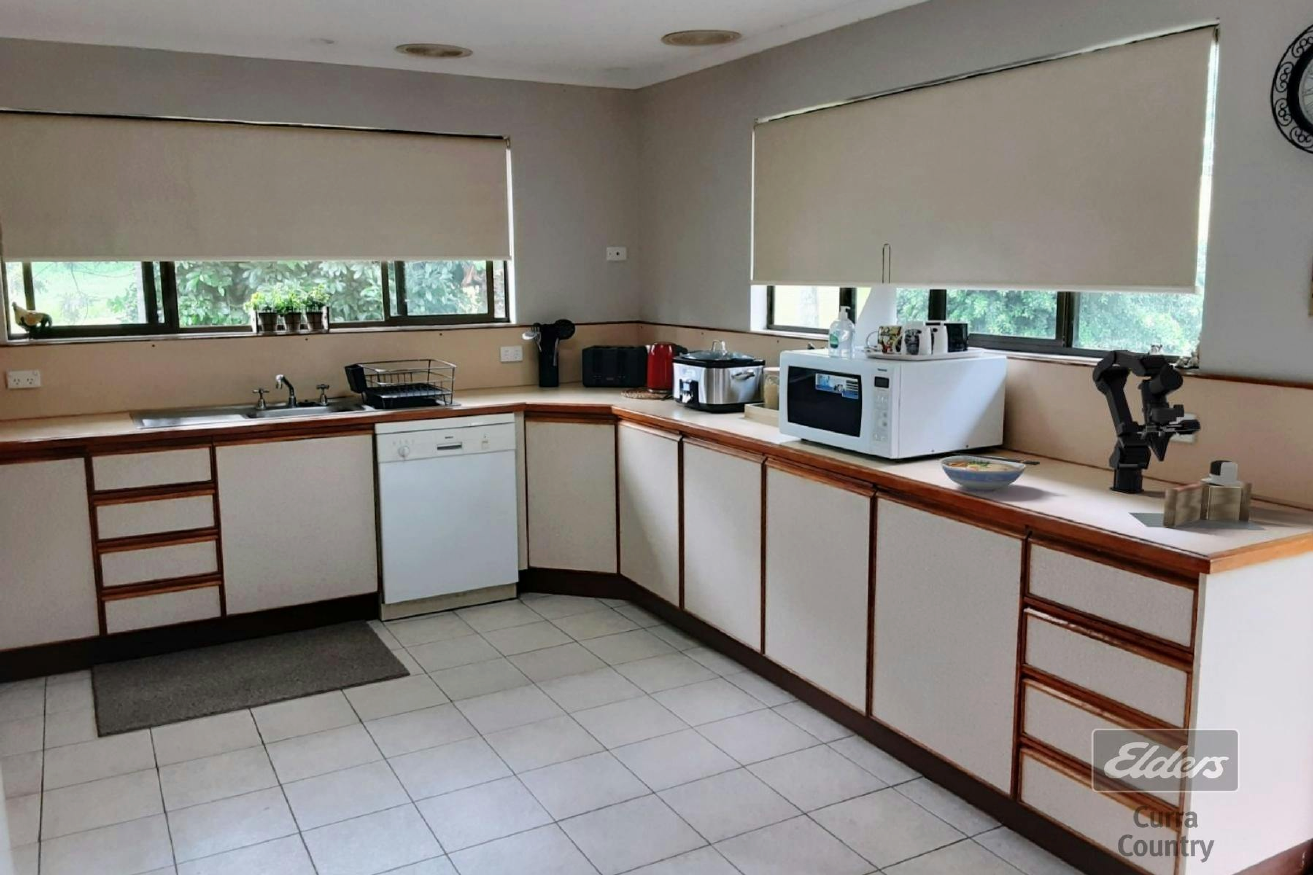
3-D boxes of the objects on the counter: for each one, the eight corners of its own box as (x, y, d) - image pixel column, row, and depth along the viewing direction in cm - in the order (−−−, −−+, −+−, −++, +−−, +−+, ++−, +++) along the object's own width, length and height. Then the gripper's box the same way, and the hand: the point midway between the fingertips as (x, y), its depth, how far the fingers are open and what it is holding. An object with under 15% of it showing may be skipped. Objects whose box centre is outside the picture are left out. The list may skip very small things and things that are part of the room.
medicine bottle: (1197, 506, 261) (1201, 459, 259) (1218, 503, 264) (1222, 457, 262) (1221, 512, 255) (1226, 464, 253) (1243, 509, 257) (1247, 462, 255)
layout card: (1147, 528, 240) (1147, 526, 240) (1128, 514, 254) (1128, 512, 253) (1266, 531, 236) (1266, 529, 236) (1240, 516, 250) (1240, 514, 250)
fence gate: (1191, 517, 247) (1194, 482, 245) (1201, 519, 245) (1204, 484, 243) (1160, 525, 240) (1163, 489, 238) (1170, 527, 238) (1173, 490, 236)
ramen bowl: (918, 488, 283) (919, 459, 282) (960, 476, 299) (962, 448, 298) (1003, 503, 266) (1005, 472, 264) (1043, 489, 281) (1045, 460, 280)
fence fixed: (1197, 520, 246) (1200, 483, 244) (1193, 517, 248) (1196, 481, 246) (1250, 521, 244) (1253, 484, 243) (1245, 518, 246) (1249, 482, 245)
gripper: (1125, 394, 257) (1132, 455, 253) (1204, 391, 254) (1212, 453, 250) (1112, 406, 267) (1119, 464, 264) (1188, 403, 265) (1196, 462, 261)
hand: (1161, 461), depth 259 cm, fingers closed
